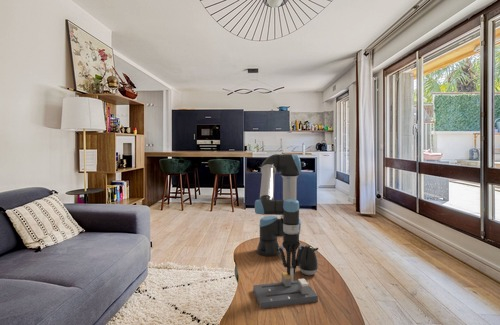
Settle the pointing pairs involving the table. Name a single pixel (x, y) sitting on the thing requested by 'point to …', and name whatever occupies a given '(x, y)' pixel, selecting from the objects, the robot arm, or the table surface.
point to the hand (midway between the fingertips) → (291, 280)
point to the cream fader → (303, 286)
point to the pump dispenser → (308, 261)
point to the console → (282, 295)
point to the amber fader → (286, 279)
